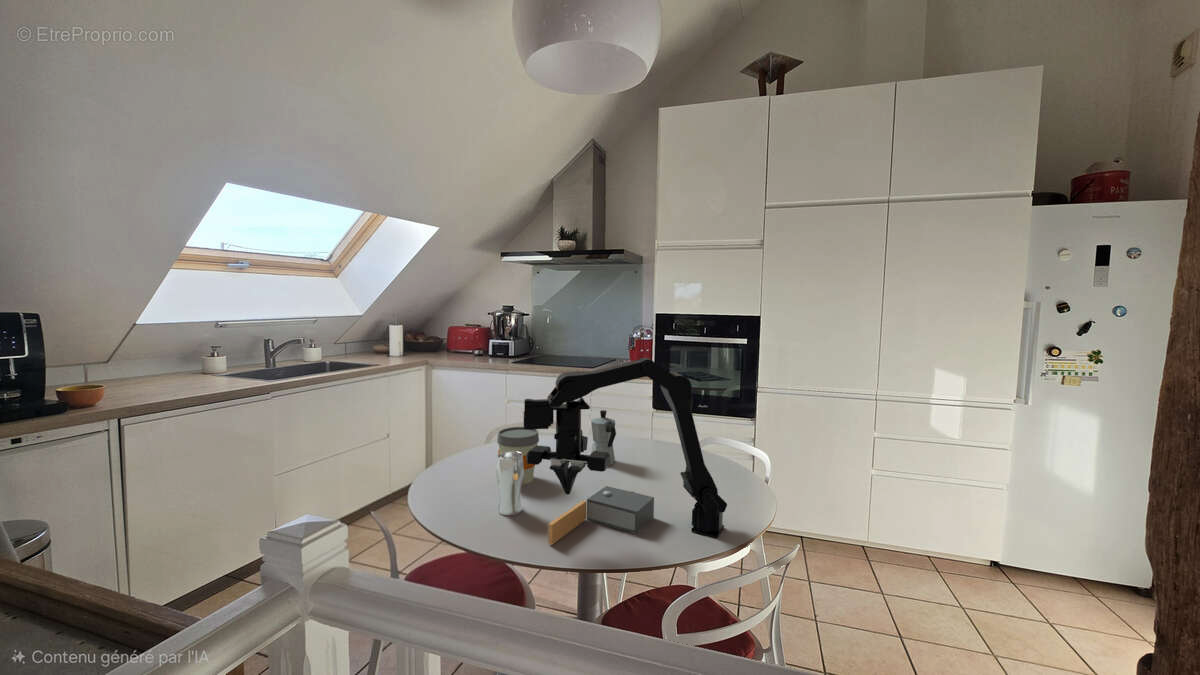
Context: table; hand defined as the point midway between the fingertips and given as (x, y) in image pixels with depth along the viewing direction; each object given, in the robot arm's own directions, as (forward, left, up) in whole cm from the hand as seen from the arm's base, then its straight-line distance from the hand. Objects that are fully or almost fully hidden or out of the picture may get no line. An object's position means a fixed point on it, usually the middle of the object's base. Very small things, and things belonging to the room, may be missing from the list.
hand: (568, 494), depth 114 cm
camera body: (-6, -16, -11) cm, 20 cm away
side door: (+2, -3, -10) cm, 11 cm away
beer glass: (+21, -5, -11) cm, 24 cm away
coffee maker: (+18, -50, -11) cm, 54 cm away
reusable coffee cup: (+33, -23, -11) cm, 42 cm away
